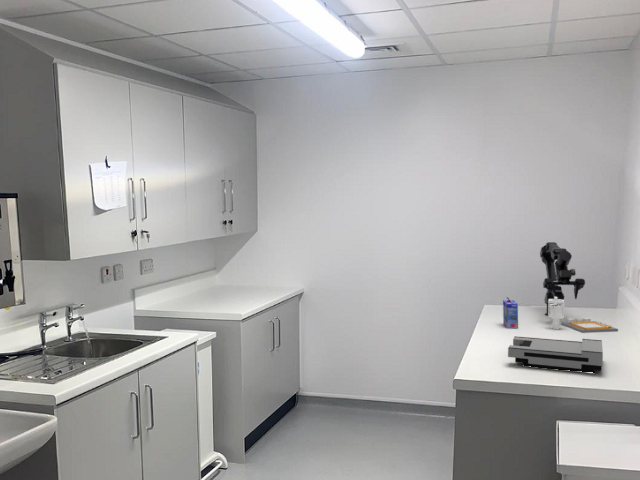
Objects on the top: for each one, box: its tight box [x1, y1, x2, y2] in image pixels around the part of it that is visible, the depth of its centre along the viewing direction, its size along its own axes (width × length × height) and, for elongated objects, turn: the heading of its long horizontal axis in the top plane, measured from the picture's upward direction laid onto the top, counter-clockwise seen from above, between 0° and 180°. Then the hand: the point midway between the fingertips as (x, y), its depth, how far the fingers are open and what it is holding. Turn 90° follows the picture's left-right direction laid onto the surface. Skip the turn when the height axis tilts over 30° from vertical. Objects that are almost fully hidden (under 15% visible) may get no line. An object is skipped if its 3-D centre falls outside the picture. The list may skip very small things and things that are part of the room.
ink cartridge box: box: [502, 296, 519, 329], centre depth 286 cm, size 10×6×14 cm, turn 174°
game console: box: [507, 335, 604, 374], centre depth 222 cm, size 21×32×8 cm, turn 65°
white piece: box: [547, 297, 565, 330], centre depth 280 cm, size 7×7×15 cm
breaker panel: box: [561, 317, 619, 334], centre depth 281 cm, size 18×18×3 cm
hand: (566, 298), depth 285 cm, fingers open, 9 cm apart
